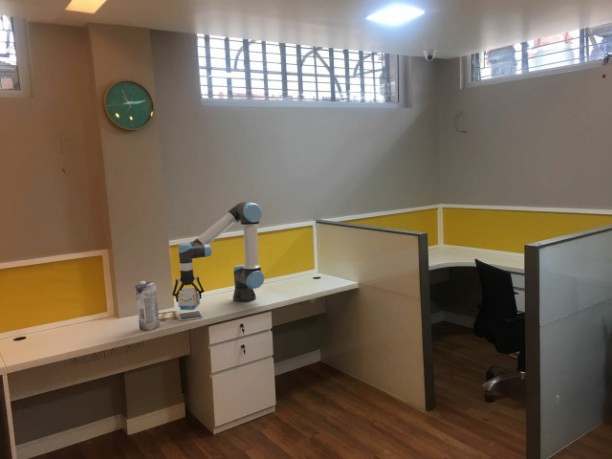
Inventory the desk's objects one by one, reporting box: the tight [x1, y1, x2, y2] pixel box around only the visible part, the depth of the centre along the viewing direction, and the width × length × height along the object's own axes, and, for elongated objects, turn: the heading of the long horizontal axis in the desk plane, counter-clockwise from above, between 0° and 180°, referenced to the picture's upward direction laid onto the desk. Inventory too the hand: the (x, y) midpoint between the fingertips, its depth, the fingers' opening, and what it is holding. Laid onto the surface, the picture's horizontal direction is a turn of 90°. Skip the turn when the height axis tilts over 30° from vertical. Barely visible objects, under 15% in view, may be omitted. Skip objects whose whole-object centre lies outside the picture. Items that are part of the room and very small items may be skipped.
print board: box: [158, 310, 180, 323], centre depth 321 cm, size 16×15×1 cm
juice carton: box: [134, 280, 160, 332], centre depth 300 cm, size 9×10×27 cm
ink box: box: [178, 286, 199, 311], centre depth 318 cm, size 9×8×12 cm
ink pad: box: [177, 310, 203, 322], centre depth 320 cm, size 13×12×1 cm
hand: (189, 305), depth 319 cm, fingers closed on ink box, 11 cm apart
